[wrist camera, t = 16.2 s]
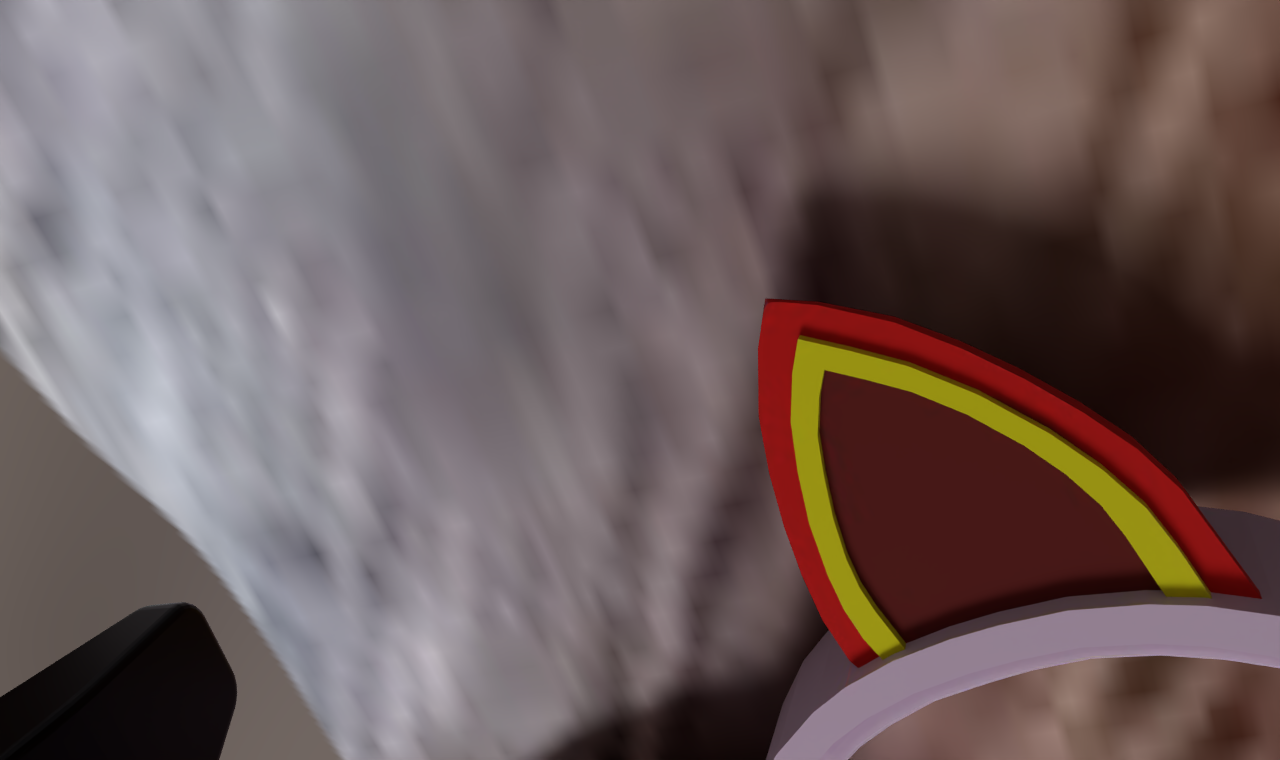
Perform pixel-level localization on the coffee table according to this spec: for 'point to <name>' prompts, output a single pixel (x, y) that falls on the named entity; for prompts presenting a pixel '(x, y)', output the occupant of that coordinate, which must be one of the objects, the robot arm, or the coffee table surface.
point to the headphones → (977, 528)
